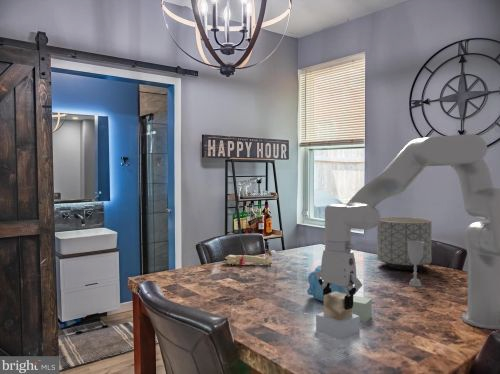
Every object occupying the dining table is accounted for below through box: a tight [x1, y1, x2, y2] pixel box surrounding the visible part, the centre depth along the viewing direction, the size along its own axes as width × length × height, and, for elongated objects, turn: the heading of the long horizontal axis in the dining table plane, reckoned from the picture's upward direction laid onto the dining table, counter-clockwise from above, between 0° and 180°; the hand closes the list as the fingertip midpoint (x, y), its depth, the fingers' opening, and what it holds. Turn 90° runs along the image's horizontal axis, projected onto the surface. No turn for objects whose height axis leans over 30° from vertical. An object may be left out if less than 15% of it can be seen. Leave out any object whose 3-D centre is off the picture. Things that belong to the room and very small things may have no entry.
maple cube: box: [323, 291, 352, 320], centre depth 118 cm, size 6×6×6 cm
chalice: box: [407, 241, 424, 287], centre depth 166 cm, size 7×7×18 cm
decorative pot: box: [306, 265, 354, 302], centre depth 148 cm, size 16×16×14 cm
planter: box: [376, 216, 432, 271], centre depth 197 cm, size 25×25×24 cm
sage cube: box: [352, 295, 373, 323], centre depth 129 cm, size 6×6×6 cm
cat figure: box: [223, 250, 273, 267], centre depth 206 cm, size 10×9×25 cm
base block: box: [315, 311, 361, 340], centre depth 119 cm, size 9×9×5 cm
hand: (337, 304), depth 118 cm, fingers open, 7 cm apart
